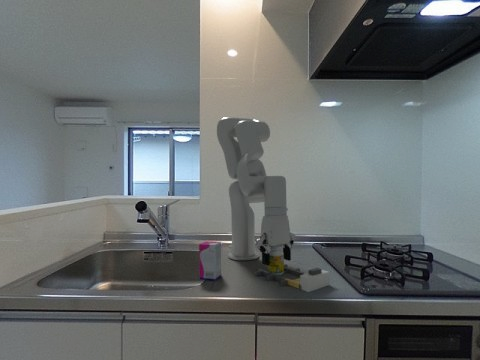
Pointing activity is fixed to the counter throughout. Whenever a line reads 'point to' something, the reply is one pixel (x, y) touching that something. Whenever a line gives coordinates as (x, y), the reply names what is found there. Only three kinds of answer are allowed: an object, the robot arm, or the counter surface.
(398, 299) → the counter surface
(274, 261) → the supplement bottle
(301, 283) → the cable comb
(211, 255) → the supplement box
